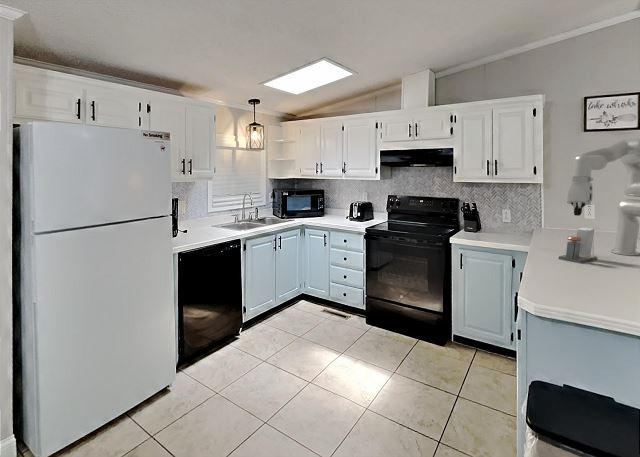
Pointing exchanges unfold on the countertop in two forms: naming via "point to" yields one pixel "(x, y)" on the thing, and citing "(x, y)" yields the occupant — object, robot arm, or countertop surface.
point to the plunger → (574, 239)
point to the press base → (575, 254)
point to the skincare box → (585, 241)
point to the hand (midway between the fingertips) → (577, 215)
